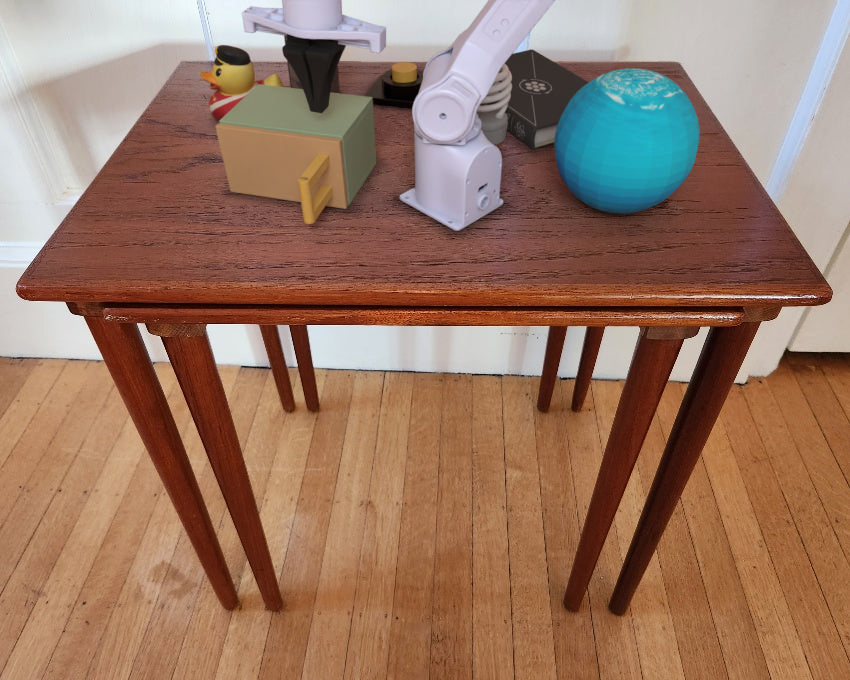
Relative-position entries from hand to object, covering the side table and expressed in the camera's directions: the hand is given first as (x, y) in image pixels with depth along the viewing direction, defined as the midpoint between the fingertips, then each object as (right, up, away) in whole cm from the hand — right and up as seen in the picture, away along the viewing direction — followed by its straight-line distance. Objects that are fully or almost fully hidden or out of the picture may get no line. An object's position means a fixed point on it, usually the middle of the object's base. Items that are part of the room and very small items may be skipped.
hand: (319, 108), depth 73 cm
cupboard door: (-5, -10, +4) cm, 12 cm away
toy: (-13, +6, +22) cm, 26 cm away
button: (+8, +13, +25) cm, 29 cm away
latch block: (+8, +11, +26) cm, 30 cm away
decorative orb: (+33, -9, +5) cm, 35 cm away
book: (+26, +8, +24) cm, 36 cm away
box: (-4, +10, +26) cm, 28 cm away
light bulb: (+19, -1, +14) cm, 23 cm away
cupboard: (-3, -5, +10) cm, 12 cm away
